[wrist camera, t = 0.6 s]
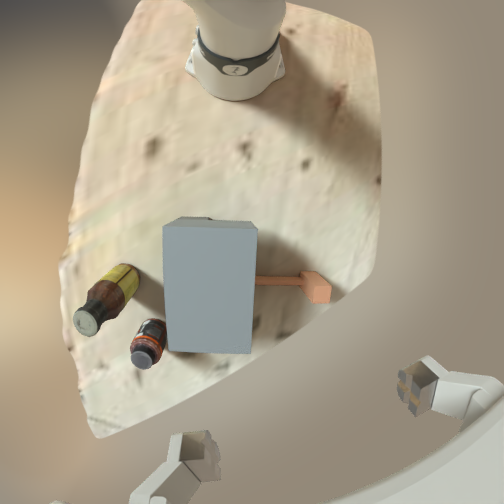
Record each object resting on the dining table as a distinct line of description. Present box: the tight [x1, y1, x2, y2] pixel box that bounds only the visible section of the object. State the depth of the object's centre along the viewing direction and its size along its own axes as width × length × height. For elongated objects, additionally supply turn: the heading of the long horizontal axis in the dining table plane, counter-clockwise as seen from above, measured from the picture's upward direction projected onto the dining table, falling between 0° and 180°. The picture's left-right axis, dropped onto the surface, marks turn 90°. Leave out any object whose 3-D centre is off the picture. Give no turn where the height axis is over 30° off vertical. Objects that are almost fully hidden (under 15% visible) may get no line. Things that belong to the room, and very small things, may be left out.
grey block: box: [163, 217, 258, 354], centre depth 43 cm, size 18×12×15 cm, turn 177°
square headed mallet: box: [255, 271, 332, 303], centre depth 47 cm, size 3×12×9 cm, turn 87°
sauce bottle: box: [73, 264, 140, 337], centre depth 39 cm, size 7×6×20 cm
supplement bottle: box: [130, 319, 168, 369], centre depth 46 cm, size 6×6×11 cm
